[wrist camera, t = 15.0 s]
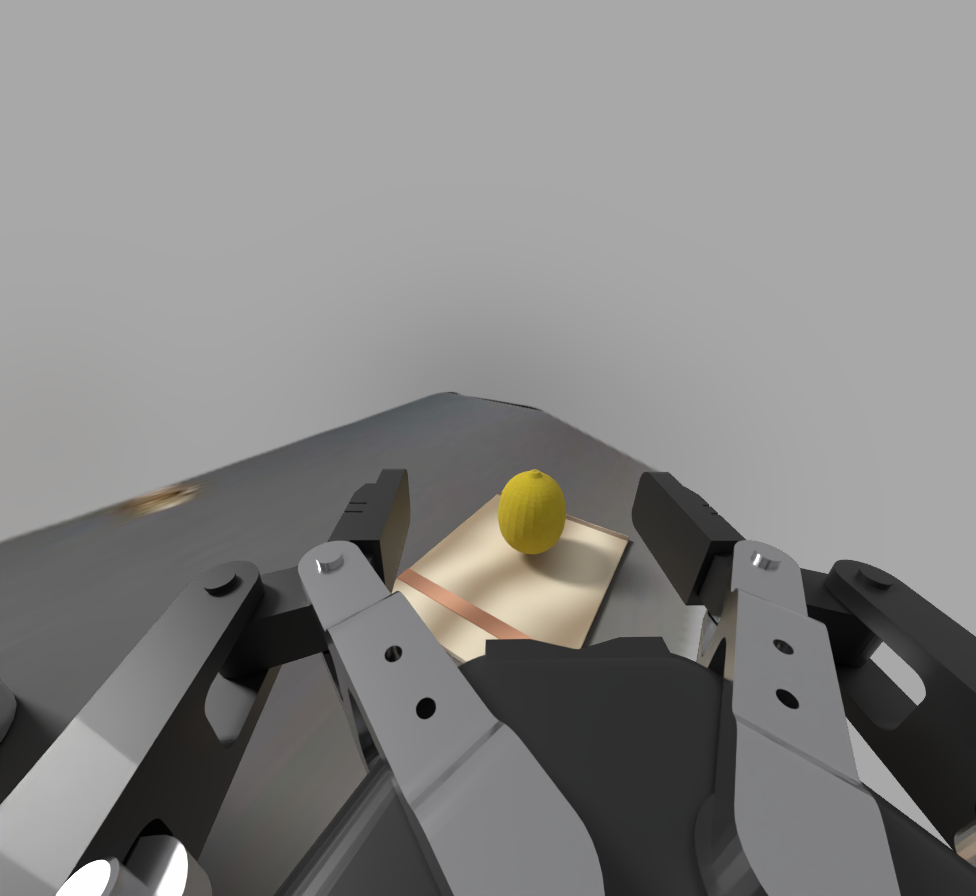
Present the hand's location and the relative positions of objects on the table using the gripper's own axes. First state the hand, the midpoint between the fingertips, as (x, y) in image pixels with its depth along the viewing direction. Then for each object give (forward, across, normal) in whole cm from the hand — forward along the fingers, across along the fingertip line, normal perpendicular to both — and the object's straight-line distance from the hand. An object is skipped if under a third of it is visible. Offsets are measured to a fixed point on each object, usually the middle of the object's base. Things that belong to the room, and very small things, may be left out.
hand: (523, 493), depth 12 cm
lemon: (+13, -3, +15) cm, 20 cm away
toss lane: (+12, -2, +15) cm, 19 cm away
